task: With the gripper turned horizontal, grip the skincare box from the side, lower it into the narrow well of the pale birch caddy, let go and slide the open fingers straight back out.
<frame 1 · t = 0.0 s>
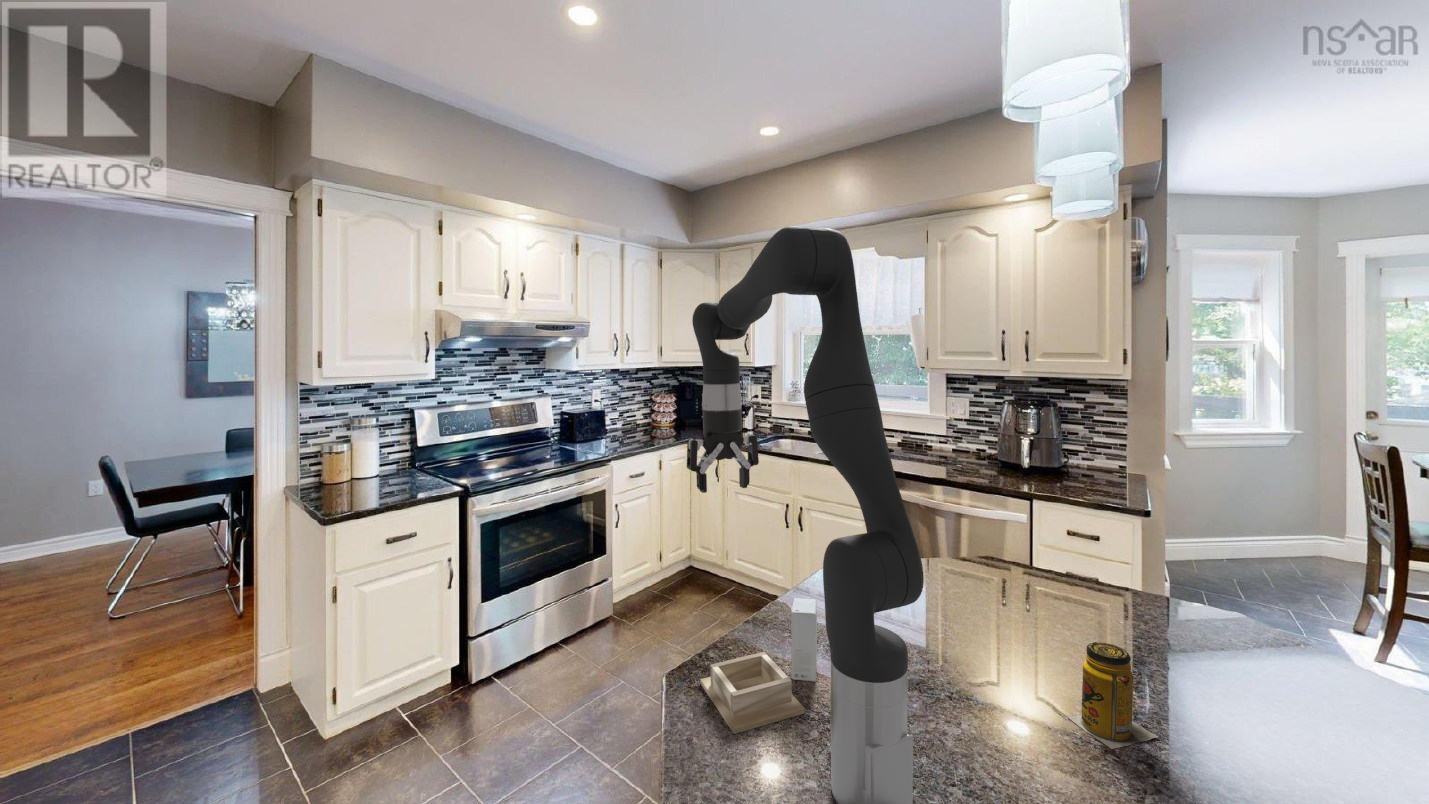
hand: (723, 489, 110), 29 cm above the kitchen island, tool pointing down, fingers open, 8 cm apart
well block: (750, 697, 92), on the kitchen island
skincare box: (804, 672, 99), on the kitchen island
condiment: (1111, 729, 82), on the kitchen island
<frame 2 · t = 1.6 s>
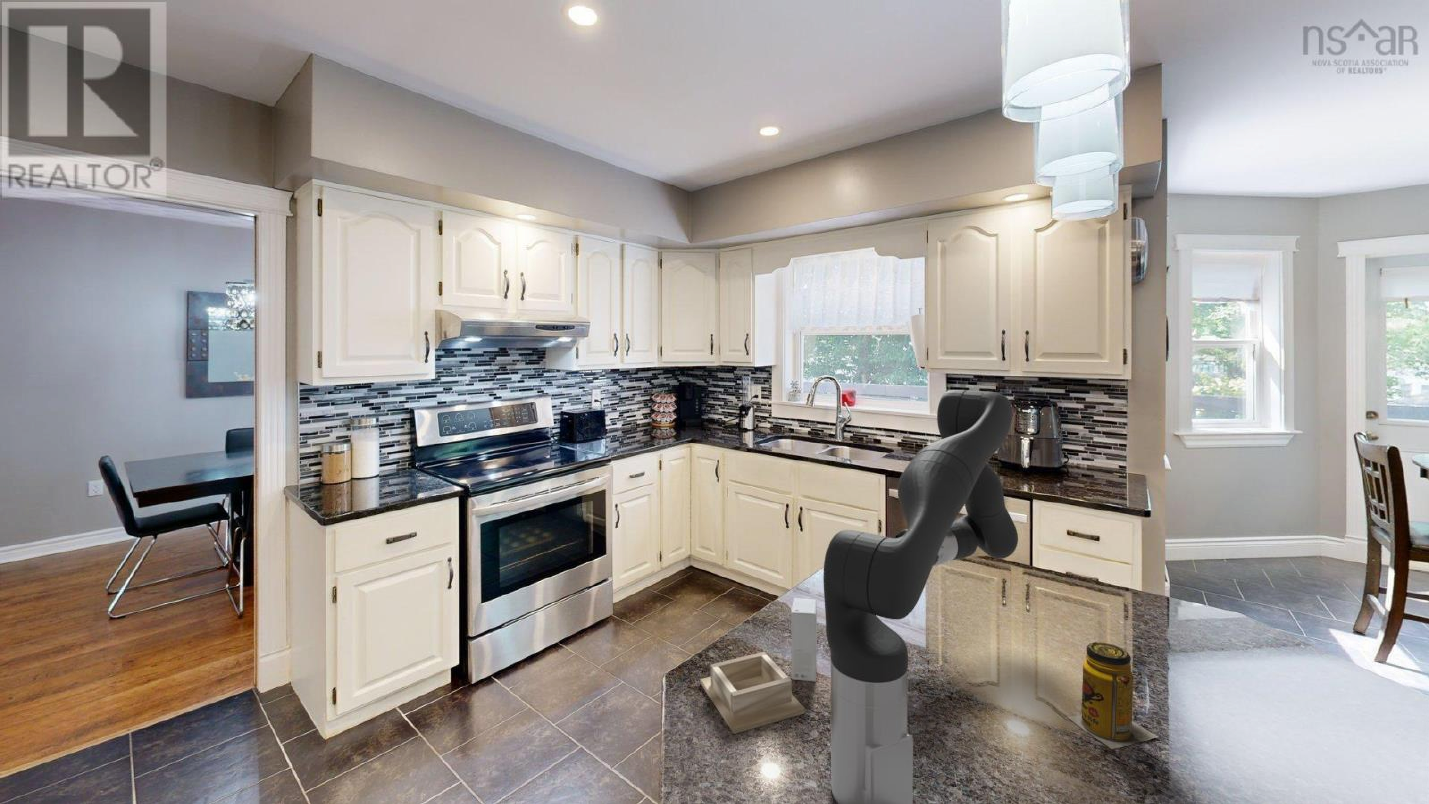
hand: (855, 560, 102), 18 cm above the kitchen island, tool horizontal, fingers open, 8 cm apart
nothing on the kitchen island moved.
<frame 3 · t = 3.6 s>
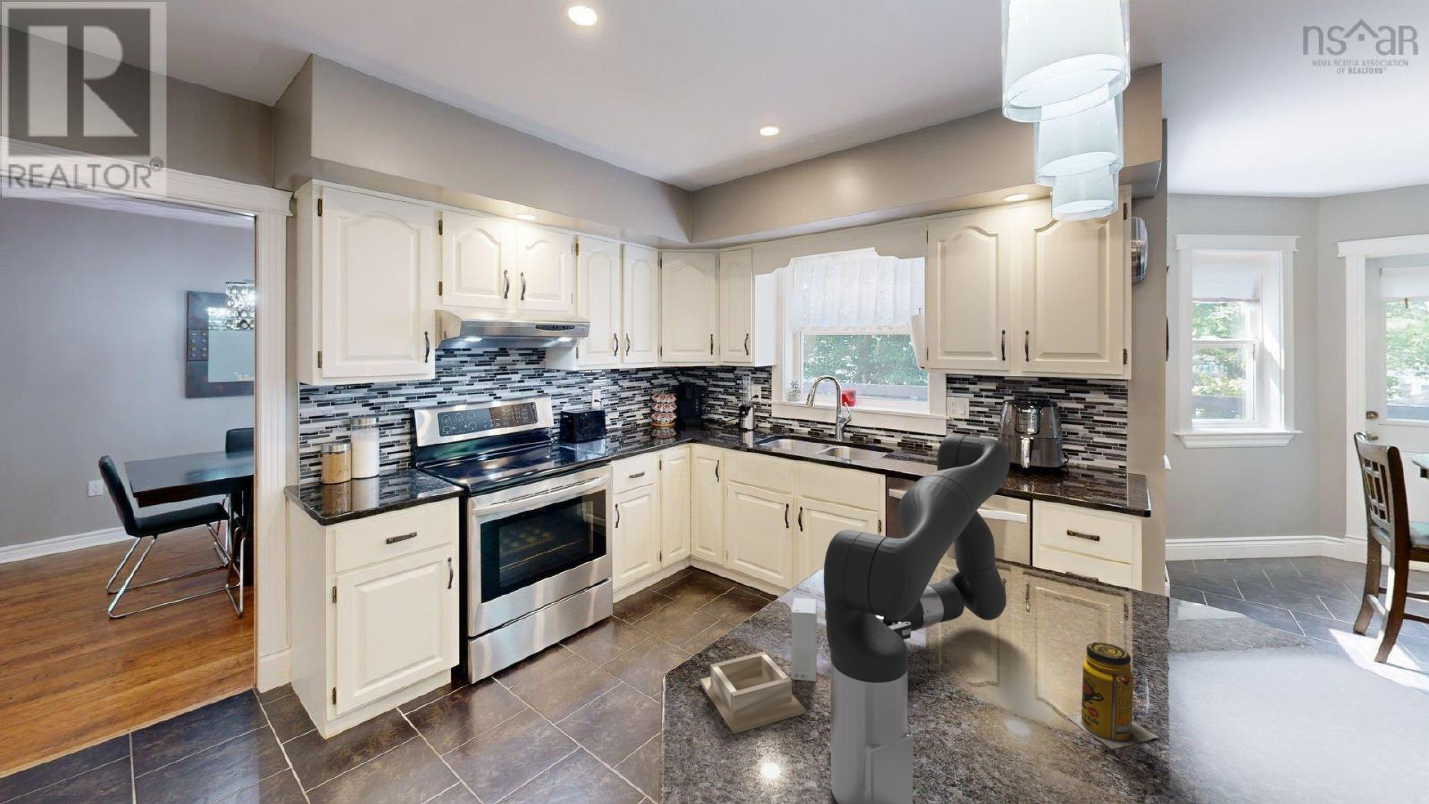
hand: (839, 625, 101), 7 cm above the kitchen island, tool horizontal, fingers open, 8 cm apart
nothing on the kitchen island moved.
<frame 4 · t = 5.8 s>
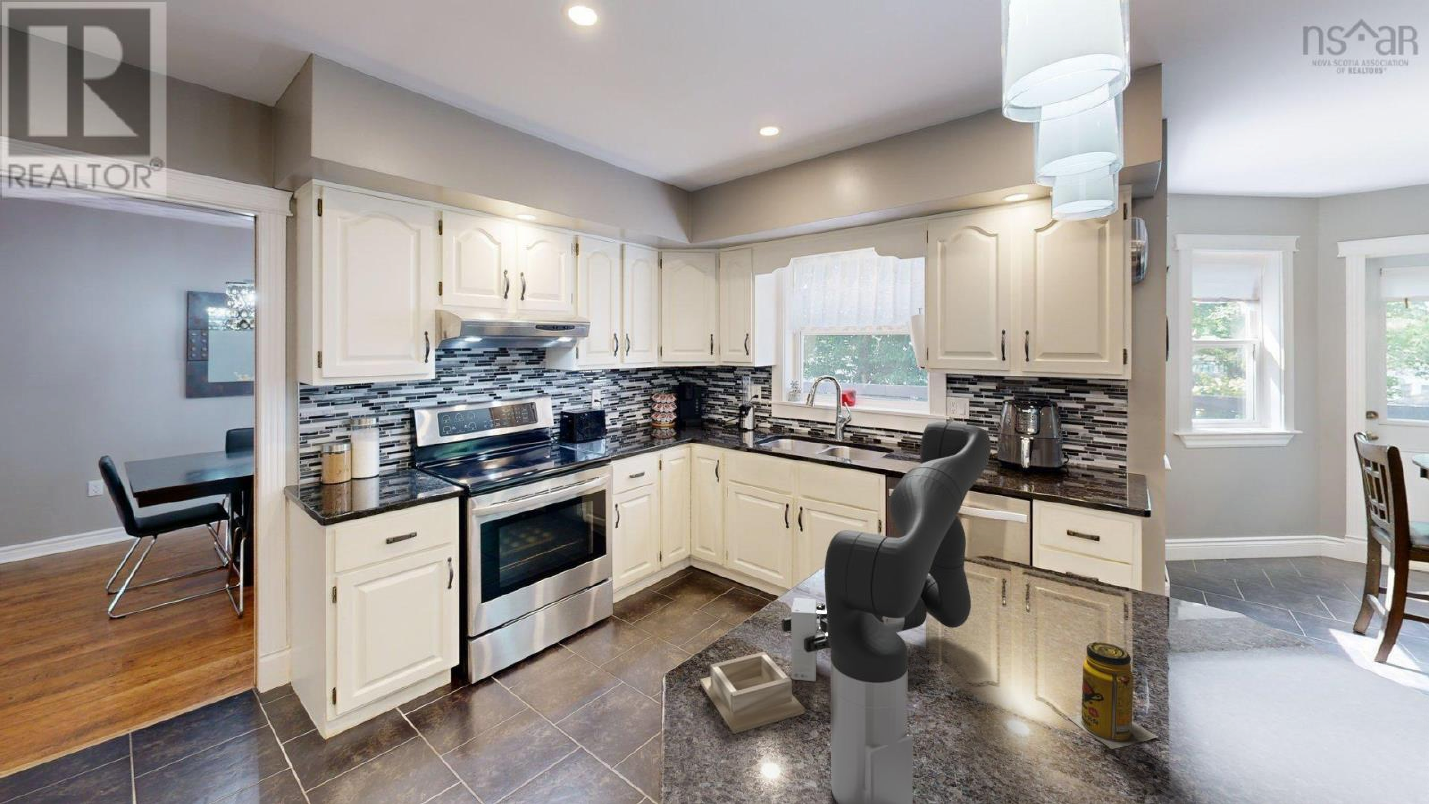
hand: (793, 635, 97), 7 cm above the kitchen island, tool horizontal, fingers closed on skincare box, 7 cm apart
skincare box: (804, 672, 99), on the kitchen island, touching gripper
everything else where it was.
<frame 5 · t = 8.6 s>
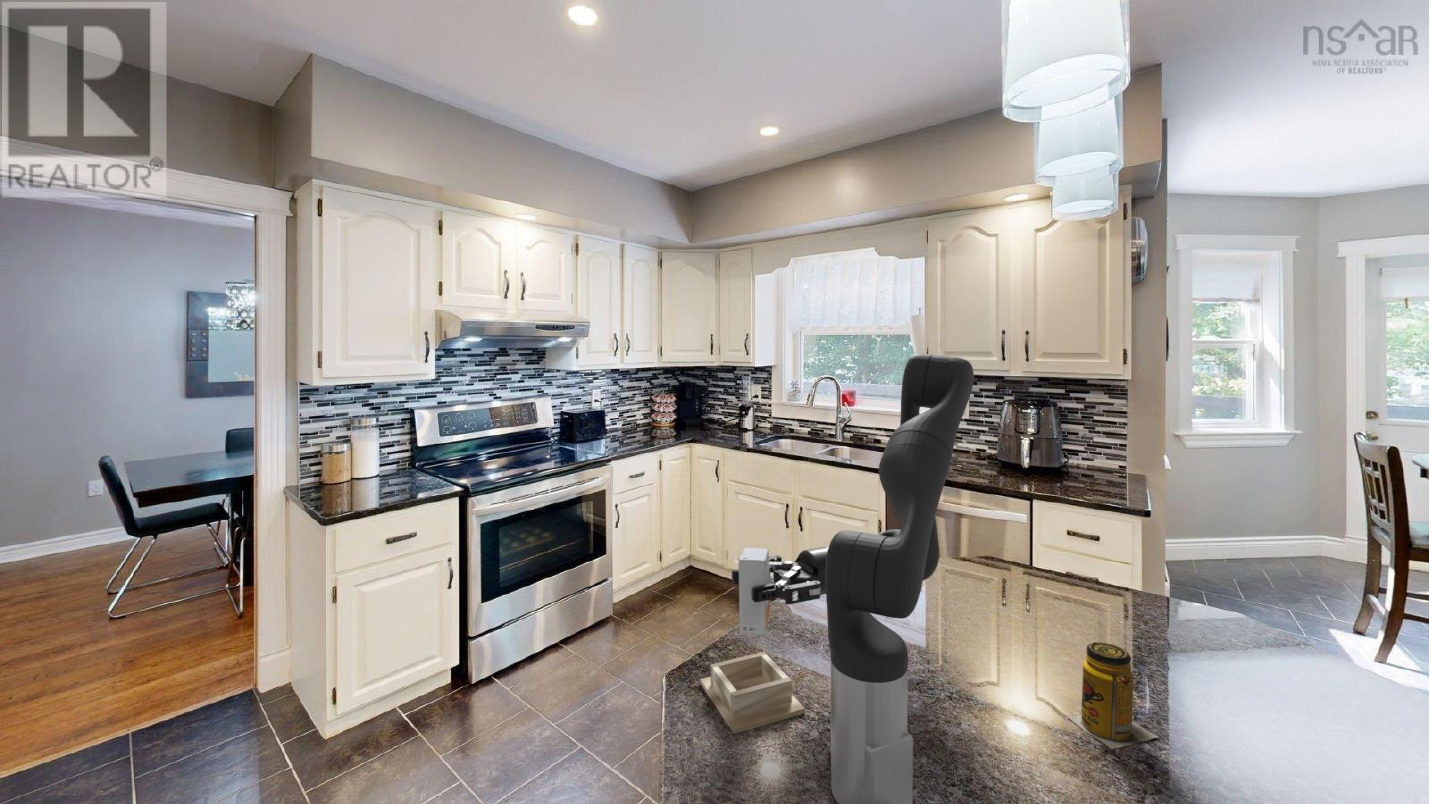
hand: (742, 586, 90), 19 cm above the kitchen island, tool horizontal, fingers closed on skincare box, 7 cm apart
skincare box: (755, 627, 91), point 12 cm above the kitchen island, touching gripper
everything else where it was.
when the fingers open (9 cm above the kitchen island, at t = 11.6 s): skincare box drops 2 cm, resting on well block.
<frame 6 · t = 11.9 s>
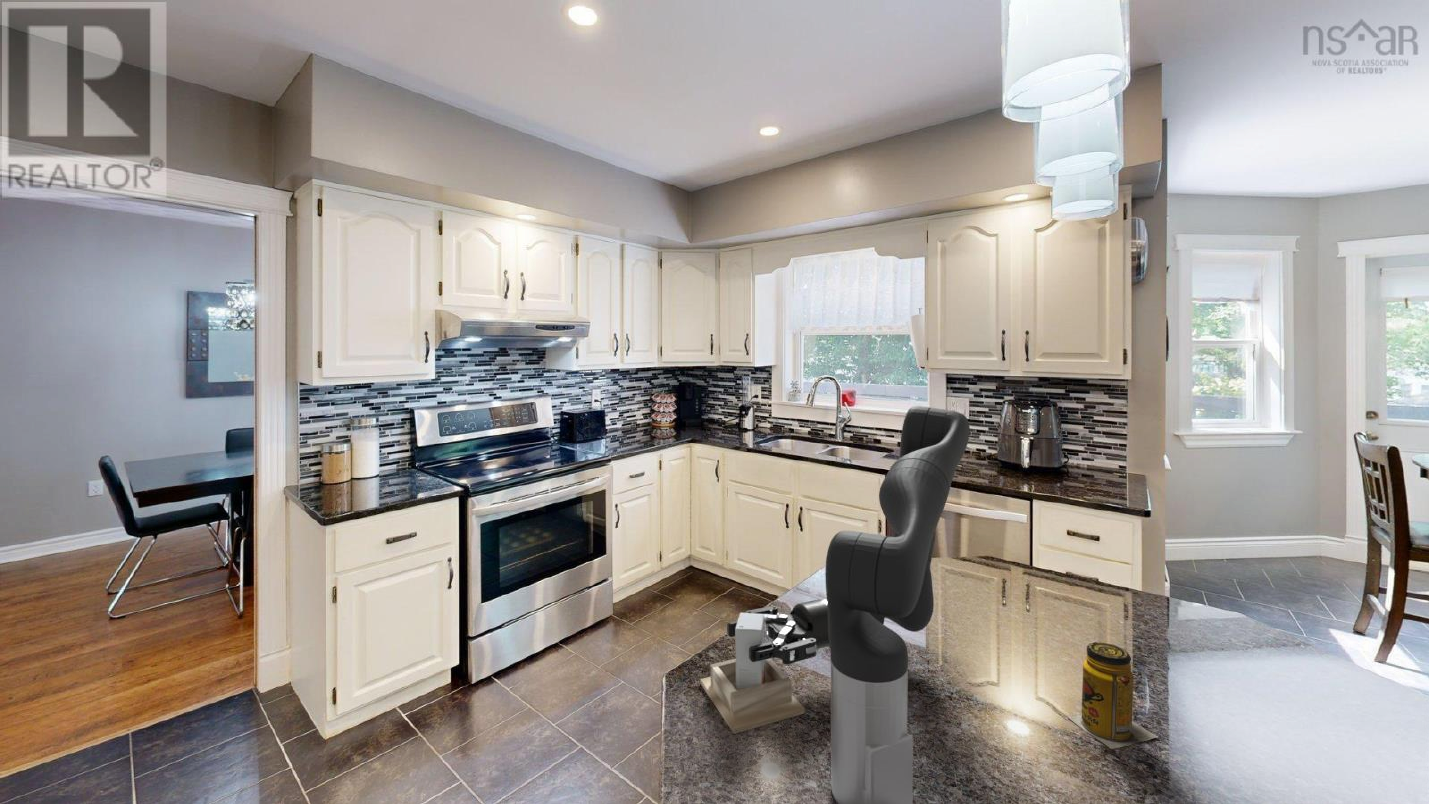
hand: (738, 642, 90), 10 cm above the kitchen island, tool horizontal, fingers open, 8 cm apart
skincare box: (751, 693, 92), point 1 cm above the kitchen island, touching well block
everything else where it was.
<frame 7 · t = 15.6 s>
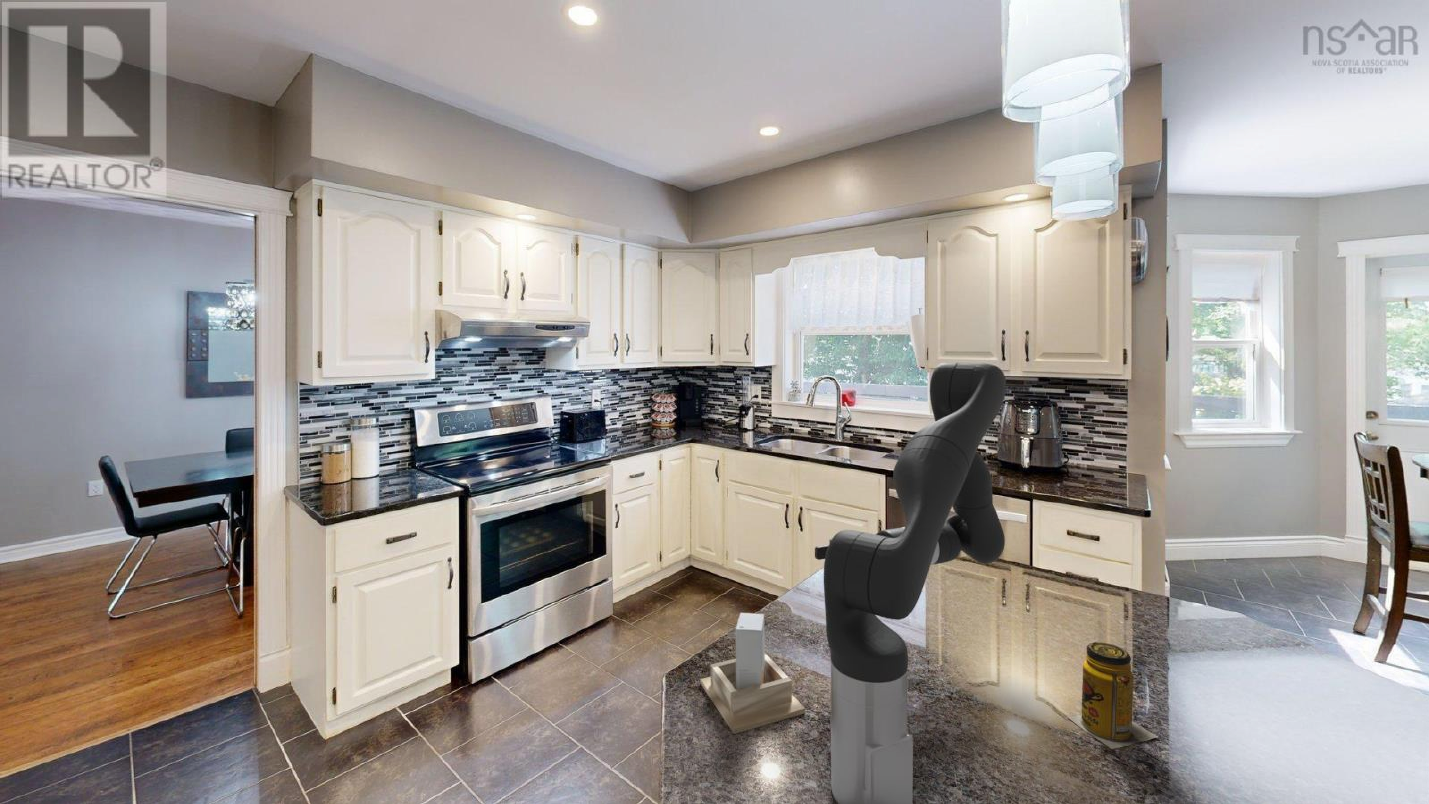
hand: (829, 561, 96), 20 cm above the kitchen island, tool horizontal, fingers open, 8 cm apart
nothing on the kitchen island moved.
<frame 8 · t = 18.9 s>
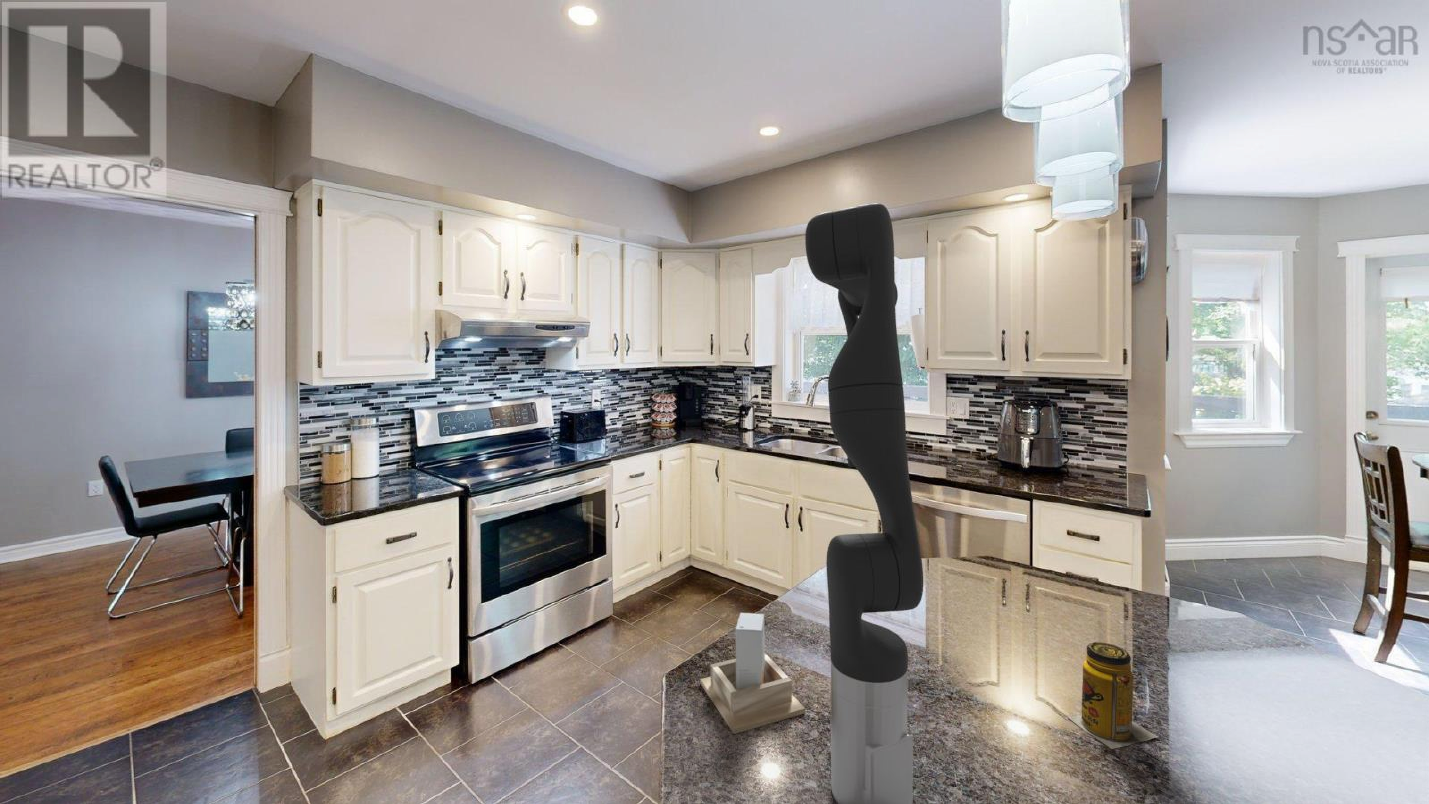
hand: (867, 470, 107), 33 cm above the kitchen island, tool pointing down, fingers open, 8 cm apart
nothing on the kitchen island moved.
at the end: skincare box 0.3 cm off-centre on the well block, point 0.6 cm above the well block's base; skincare box tilted 0°; the gripper is holding nothing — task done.
